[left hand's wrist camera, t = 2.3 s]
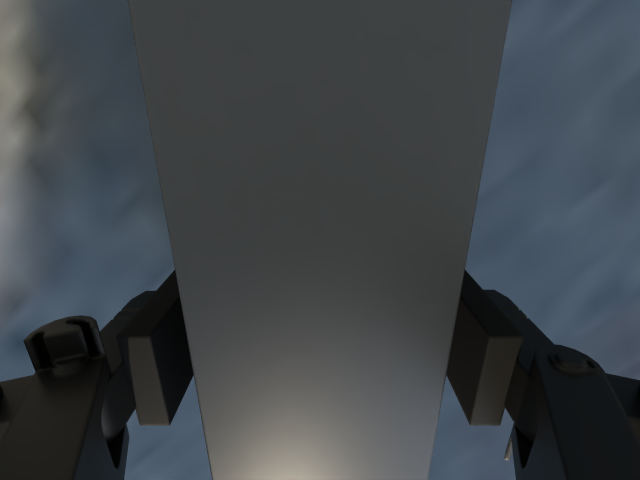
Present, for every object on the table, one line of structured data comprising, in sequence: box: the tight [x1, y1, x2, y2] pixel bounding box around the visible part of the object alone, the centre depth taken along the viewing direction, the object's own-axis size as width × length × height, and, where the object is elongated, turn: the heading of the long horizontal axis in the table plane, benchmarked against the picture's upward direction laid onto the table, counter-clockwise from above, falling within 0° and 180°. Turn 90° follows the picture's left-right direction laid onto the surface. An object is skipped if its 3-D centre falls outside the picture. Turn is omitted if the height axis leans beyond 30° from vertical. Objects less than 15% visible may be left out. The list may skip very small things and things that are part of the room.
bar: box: [128, 0, 512, 480], centre depth 8 cm, size 21×5×8 cm, turn 0°
